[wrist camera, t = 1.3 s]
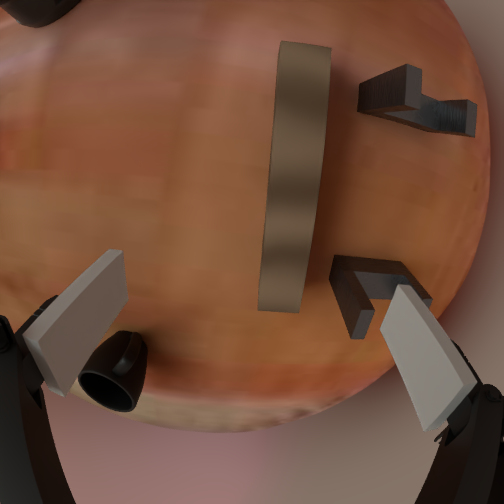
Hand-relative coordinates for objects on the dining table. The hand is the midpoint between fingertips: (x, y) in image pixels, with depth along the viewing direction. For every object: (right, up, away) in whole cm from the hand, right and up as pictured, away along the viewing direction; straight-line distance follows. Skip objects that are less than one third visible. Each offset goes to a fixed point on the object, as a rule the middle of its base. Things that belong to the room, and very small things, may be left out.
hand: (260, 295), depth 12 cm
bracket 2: (+12, 0, +17) cm, 21 cm away
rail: (+3, +9, +14) cm, 17 cm away
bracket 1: (+14, +16, +10) cm, 23 cm away
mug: (-17, -10, +23) cm, 30 cm away
